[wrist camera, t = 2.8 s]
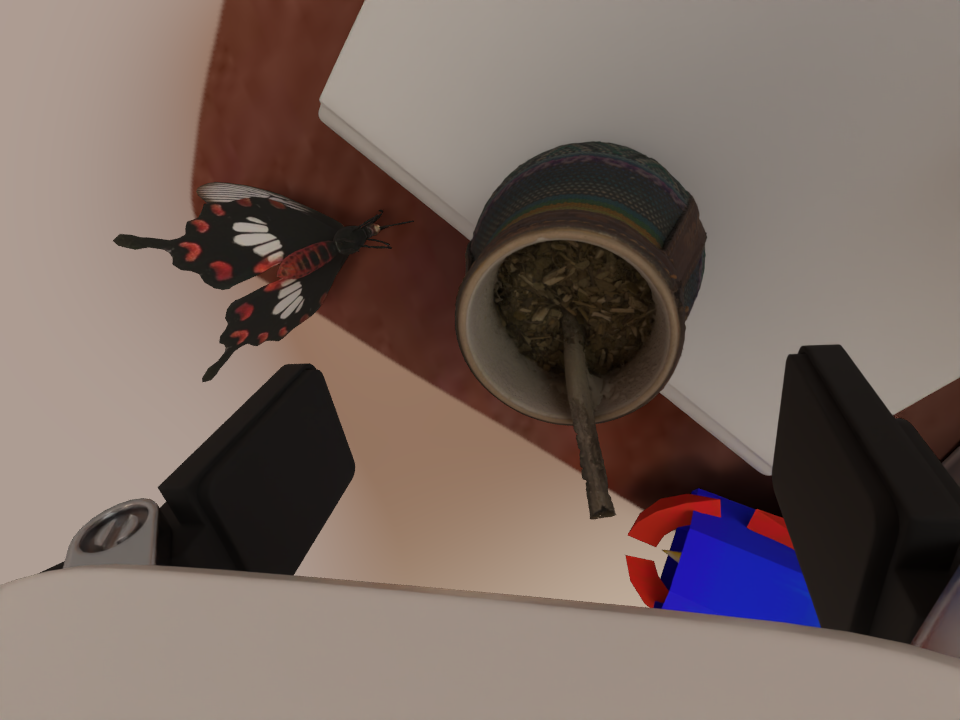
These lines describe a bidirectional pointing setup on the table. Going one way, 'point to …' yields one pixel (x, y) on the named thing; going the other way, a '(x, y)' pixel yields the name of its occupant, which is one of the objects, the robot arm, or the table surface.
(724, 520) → the blue cylinder red fins
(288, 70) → the table surface
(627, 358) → the mate gourd
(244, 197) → the butterfly
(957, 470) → the can
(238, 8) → the table surface
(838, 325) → the book
